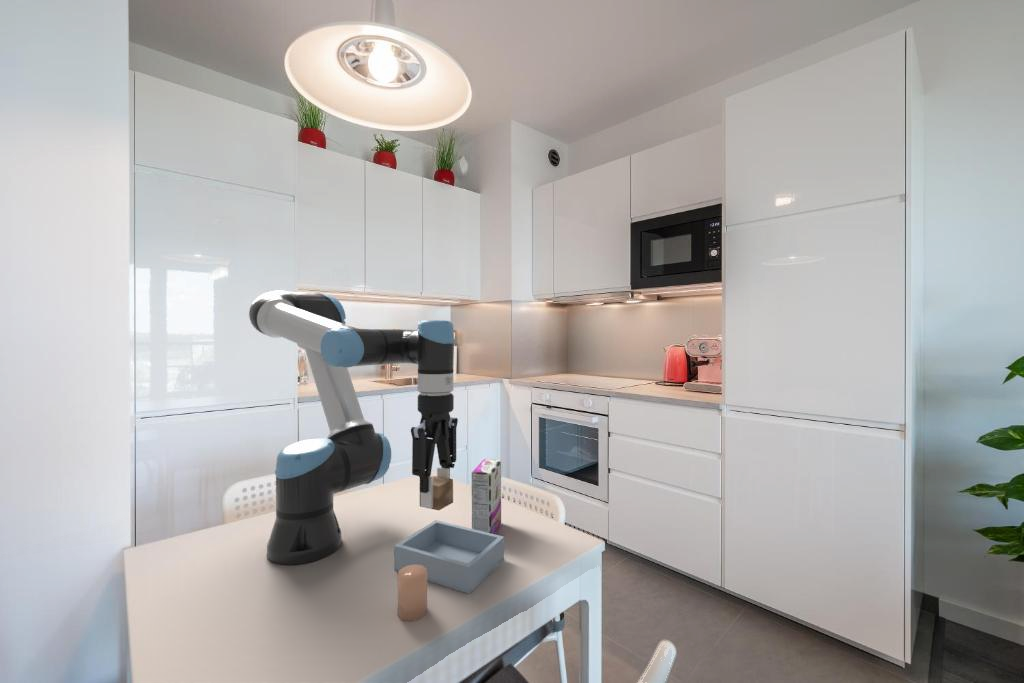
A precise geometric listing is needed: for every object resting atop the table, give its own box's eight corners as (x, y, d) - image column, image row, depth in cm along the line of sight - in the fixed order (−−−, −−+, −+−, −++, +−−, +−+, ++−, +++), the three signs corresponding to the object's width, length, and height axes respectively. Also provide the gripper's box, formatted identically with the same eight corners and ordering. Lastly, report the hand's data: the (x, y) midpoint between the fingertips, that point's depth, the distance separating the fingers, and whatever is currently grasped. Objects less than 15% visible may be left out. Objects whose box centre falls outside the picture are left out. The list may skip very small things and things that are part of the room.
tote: (394, 569, 90) (394, 545, 90) (435, 541, 102) (435, 520, 102) (469, 593, 82) (469, 567, 82) (503, 559, 94) (504, 536, 94)
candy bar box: (482, 521, 114) (483, 458, 114) (501, 523, 113) (502, 459, 113) (470, 541, 103) (470, 471, 103) (490, 543, 102) (491, 472, 102)
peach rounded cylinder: (391, 616, 75) (391, 575, 75) (410, 600, 80) (410, 562, 80) (414, 624, 73) (415, 583, 73) (432, 607, 78) (433, 568, 78)
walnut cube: (438, 510, 90) (438, 486, 90) (419, 506, 92) (419, 482, 92) (453, 502, 94) (453, 479, 94) (434, 498, 97) (434, 475, 97)
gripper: (423, 399, 83) (422, 521, 84) (473, 389, 100) (472, 491, 100) (392, 397, 87) (392, 514, 87) (446, 387, 103) (445, 486, 103)
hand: (435, 501), depth 94 cm, fingers closed on walnut cube, 5 cm apart
